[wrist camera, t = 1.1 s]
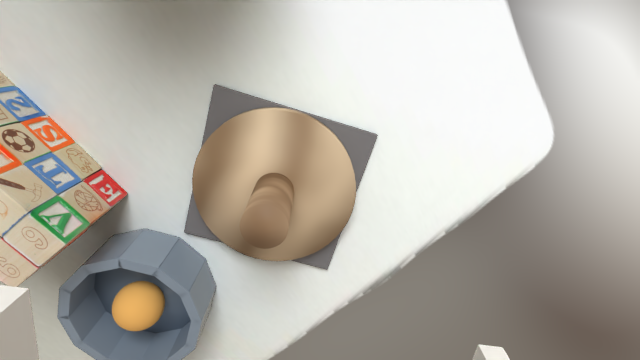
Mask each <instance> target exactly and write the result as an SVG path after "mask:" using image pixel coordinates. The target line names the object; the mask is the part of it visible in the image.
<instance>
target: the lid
mask: <svg viewBox="0 0 640 360" xmlns="http://www.w3.org/2000/svg"><path fill="white" fill-rule="evenodd" d="M192 184H193V194H194V199H195V203H196V206H197V209H198V211H199V213H200V215H201V217H202V219H203V220H204V222H205V224H206V225H207V226H208V228H209V229H210V230H211V231H212V233H213V234H214V235H215V236H217V237H218V238H219V239H220V240H221V241H222V242H224V243H225V244H226V245H227V246H229V247H231V248H232V249H234V250H236V251H238V252H240V253H242V254H244V255H247V256H250V257H253V258H257V259H262V260H270V261H286V260H294V259H298V258H302V257H305V256H308V255H310V254H313V253H315V252H317V251H319V250H320V249H322V248H324V247H325V246H326V245H328V244H329V243H330V242H331V241H333V240H334V239H335V238H336V237H337V236H338V234H339V233H340V232H341V231H342V230H343V228H344V227H345V225H346V223H347V222H348V220H349V218H350V215H351V213H352V210H353V207H354V203H355V197H356V181H355V174H354V170H353V166H352V163H351V160H350V157H349V155H348V153H347V150H346V149H345V147H344V146H343V144H342V142H341V141H340V140H339V139H338V137H337V136H336V135H335V134H334V133H333V132H332V131H331V130H330V129H329V128H328V127H327V126H326V125H324V124H323V123H321V122H320V121H319V120H317V119H315V118H313V117H311V116H309V115H307V114H305V113H302V112H299V111H296V110H292V109H288V108H280V107H264V108H258V109H252V110H249V111H246V112H243V113H241V114H238V115H236V116H234V117H232V118H231V119H229V120H228V121H226V122H225V123H223V124H222V125H221V126H220V127H219V128H218V129H216V130H215V131H214V132H213V133H212V134H211V136H210V137H209V138H208V139H207V140H206V142H205V143H204V145H203V146H202V148H201V149H200V152H199V154H198V156H197V158H196V162H195V165H194V170H193V178H192Z"/></svg>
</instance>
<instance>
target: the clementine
mask: <svg viewBox="0 0 640 360" xmlns="http://www.w3.org/2000/svg"><path fill="white" fill-rule="evenodd" d="M164 307H165V298H164V295H163V292H162V291H161V289H160V288H159V287H158V286H157V285H155V284H154V283H151V282H148V281H136V282H132V283H130V284H128V285H126V286H125V287H123V288H122V289H121V290H120V291H119V292H118V293H117V295H116V296H115V298H114V301H113V304H112V315H113V318H114V320H115V322H116V323H117V324H118V325H119V326H120V327H121V328H123V329H125V330H128V331H141V330H145V329H147V328H149V327H151V326H152V325H154V324H155V323H156V322H157V321H158V320H159V318H160V317H161V315H162V313H163V311H164Z"/></svg>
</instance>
